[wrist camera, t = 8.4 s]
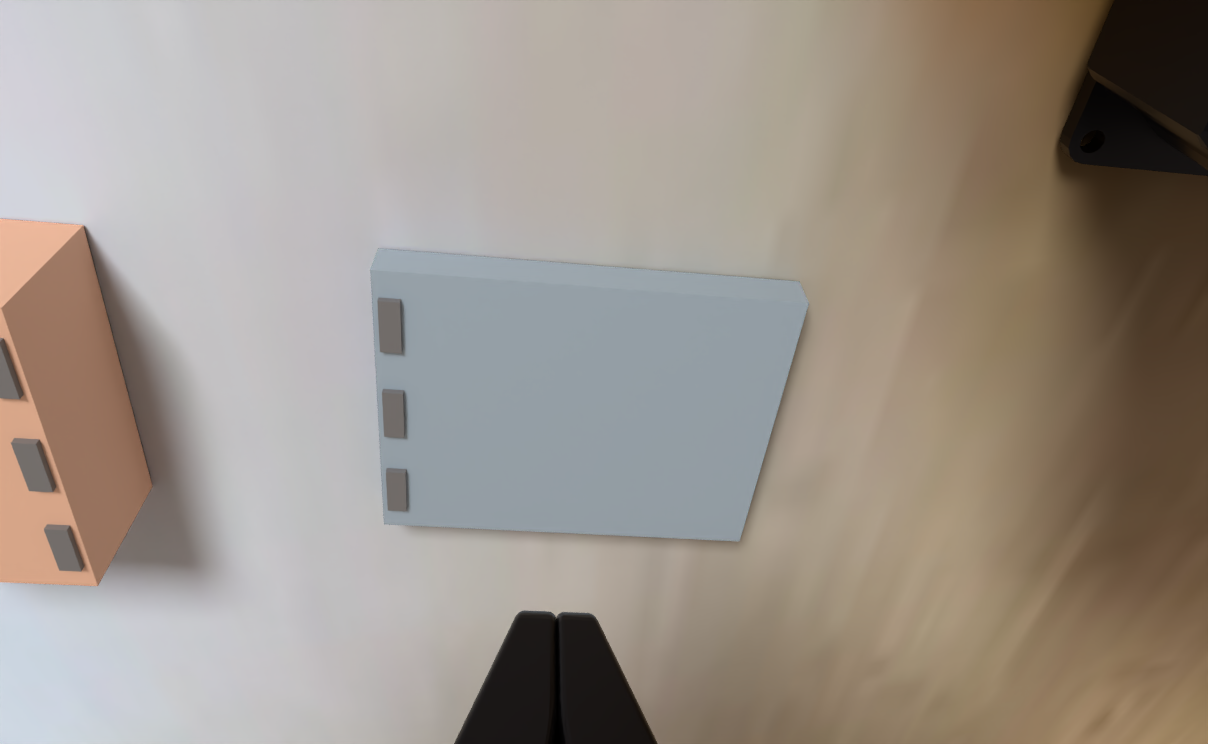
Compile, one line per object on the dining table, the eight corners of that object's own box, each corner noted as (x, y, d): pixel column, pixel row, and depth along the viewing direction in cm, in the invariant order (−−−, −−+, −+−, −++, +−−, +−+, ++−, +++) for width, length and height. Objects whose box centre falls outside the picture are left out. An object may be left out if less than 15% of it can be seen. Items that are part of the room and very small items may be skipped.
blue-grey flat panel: (799, 281, 21) (810, 306, 20) (733, 516, 26) (740, 545, 25) (377, 248, 20) (369, 273, 19) (389, 498, 25) (383, 528, 24)
